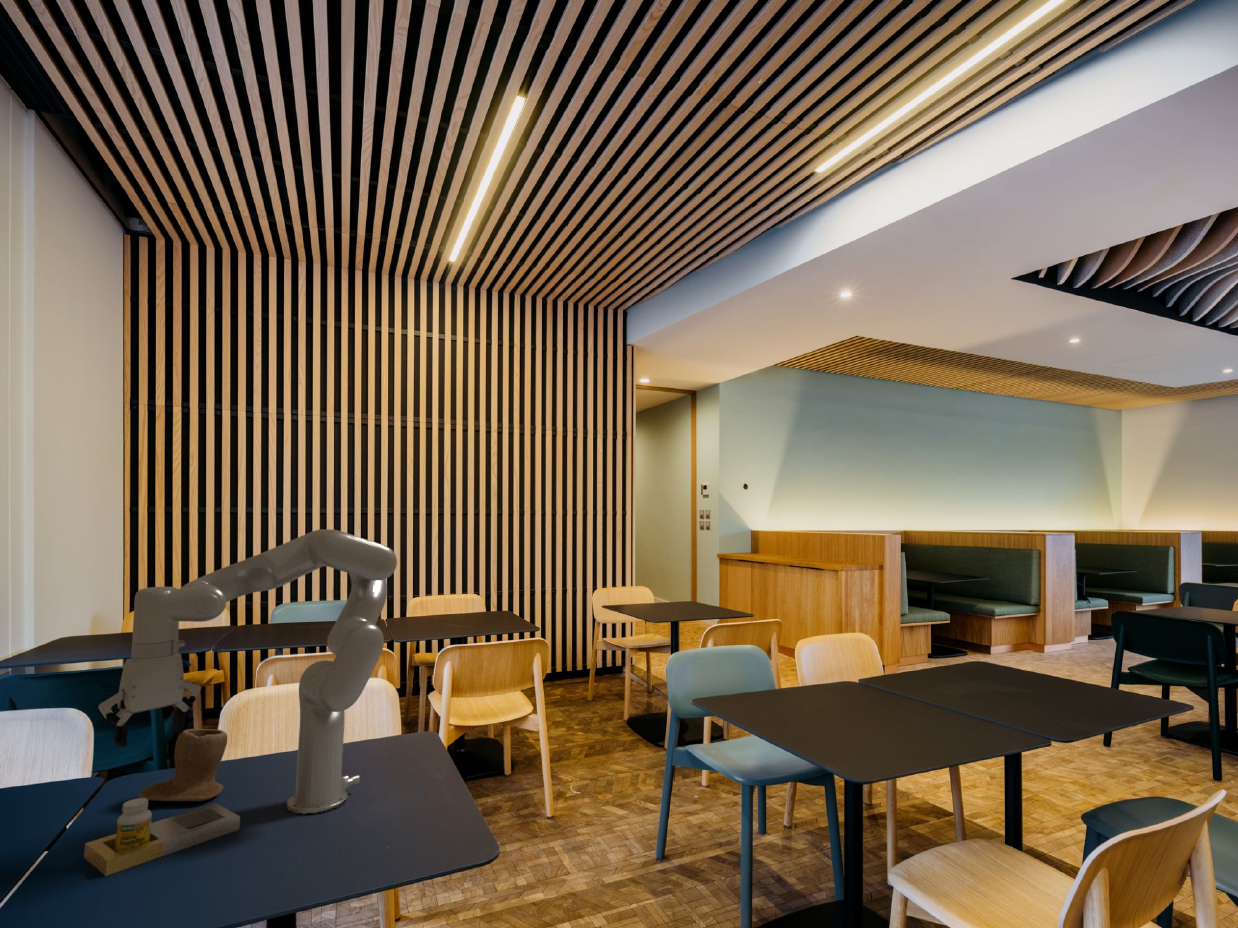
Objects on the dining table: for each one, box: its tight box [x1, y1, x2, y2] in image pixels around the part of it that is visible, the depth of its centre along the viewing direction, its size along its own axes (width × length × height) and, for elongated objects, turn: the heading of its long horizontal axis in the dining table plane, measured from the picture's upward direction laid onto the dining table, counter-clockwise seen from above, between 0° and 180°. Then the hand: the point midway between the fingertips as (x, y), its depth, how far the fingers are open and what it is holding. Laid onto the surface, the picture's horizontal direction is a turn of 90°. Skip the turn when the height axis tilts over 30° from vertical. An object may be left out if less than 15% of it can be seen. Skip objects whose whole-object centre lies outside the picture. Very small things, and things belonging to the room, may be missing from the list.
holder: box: [83, 803, 241, 877], centre depth 131 cm, size 23×11×3 cm, turn 145°
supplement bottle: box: [115, 797, 153, 853], centre depth 127 cm, size 5×5×10 cm
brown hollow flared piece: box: [138, 728, 228, 802], centre depth 154 cm, size 15×12×15 cm
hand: (150, 738), depth 130 cm, fingers open, 9 cm apart
